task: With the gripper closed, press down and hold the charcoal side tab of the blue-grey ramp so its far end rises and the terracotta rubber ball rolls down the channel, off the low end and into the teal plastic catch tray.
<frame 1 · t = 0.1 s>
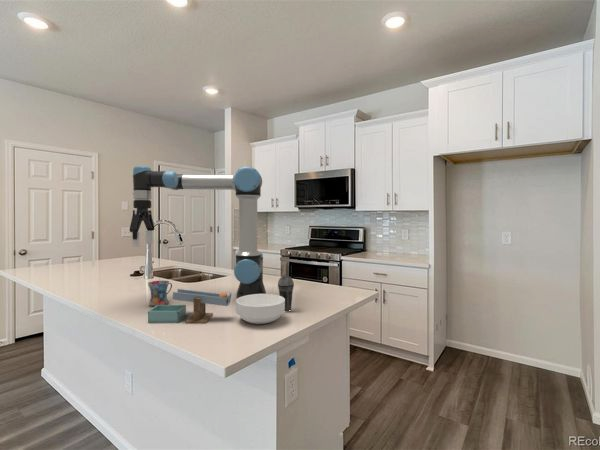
hand: (142, 245, 154), 28 cm above the countertop, fingers open, 13 cm apart
mug: (161, 304, 155), on the countertop
bowl: (260, 320, 133), on the countertop
fulcrum: (199, 318, 134), on the countertop
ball: (223, 296, 134), point 9 cm above the countertop, touching blue-grey ramp
blue-grey ramp: (204, 294, 137), point 9 cm above the countertop, hinge at -7.0°, touching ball
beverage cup: (285, 310, 146), on the countertop
tray: (167, 318, 134), on the countertop
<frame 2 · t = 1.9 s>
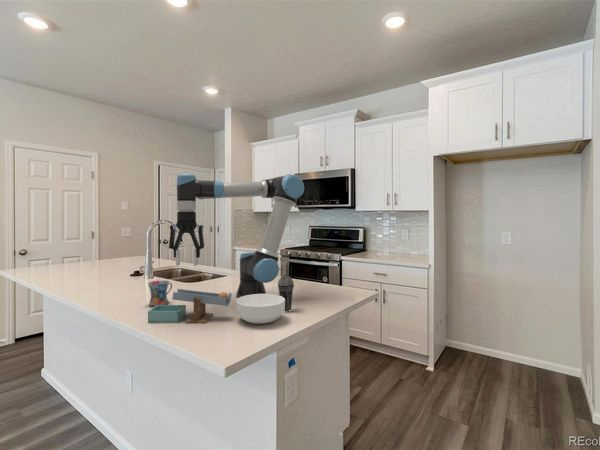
hand: (187, 265, 139), 21 cm above the countertop, fingers open, 7 cm apart
nothing on the countertop moved.
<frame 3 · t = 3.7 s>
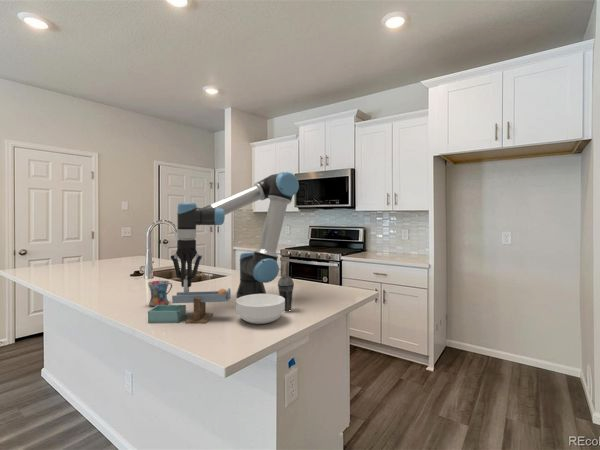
hand: (186, 294, 140), 9 cm above the countertop, fingers closed
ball: (222, 293, 134), point 11 cm above the countertop, tilted 11°
blue-grey ramp: (204, 293, 137), point 9 cm above the countertop, hinge at 1.6°, touching gripper
everything else where it was.
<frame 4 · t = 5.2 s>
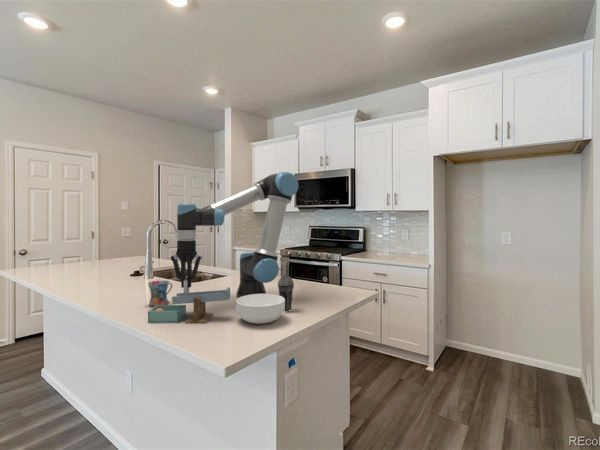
hand: (186, 295, 140), 8 cm above the countertop, fingers closed
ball: (159, 312, 133), point 3 cm above the countertop, tilted 126°, touching tray
blue-grey ramp: (204, 293, 137), point 9 cm above the countertop, hinge at 4.0°, touching gripper
everything else where it was.
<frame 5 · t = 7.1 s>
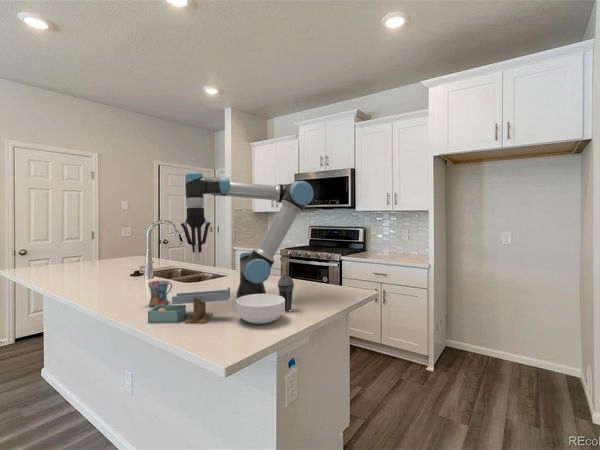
hand: (197, 259, 148), 22 cm above the countertop, fingers closed
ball: (161, 312, 133), point 3 cm above the countertop, tilted 94°, touching tray
blue-grey ramp: (204, 293, 137), point 9 cm above the countertop, hinge at 4.0°
everything else where it was.
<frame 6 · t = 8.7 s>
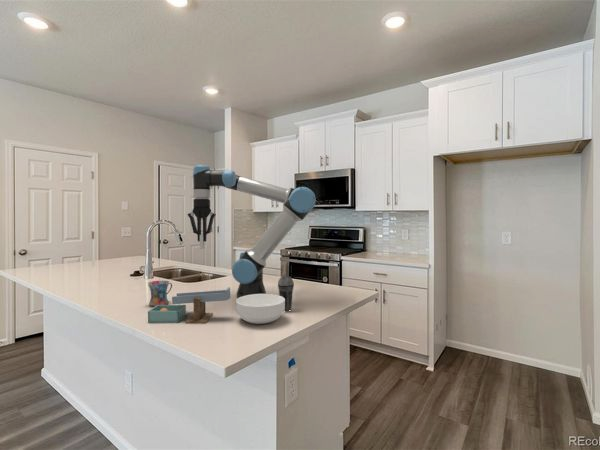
hand: (202, 248, 156), 26 cm above the countertop, fingers closed
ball: (163, 312, 133), point 3 cm above the countertop, tilted 67°, touching tray
everything else where it was.
at the end: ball inside the target area on the tray (1.4 cm from its centre), point 2.6 cm above the tray's base; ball touching tray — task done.
